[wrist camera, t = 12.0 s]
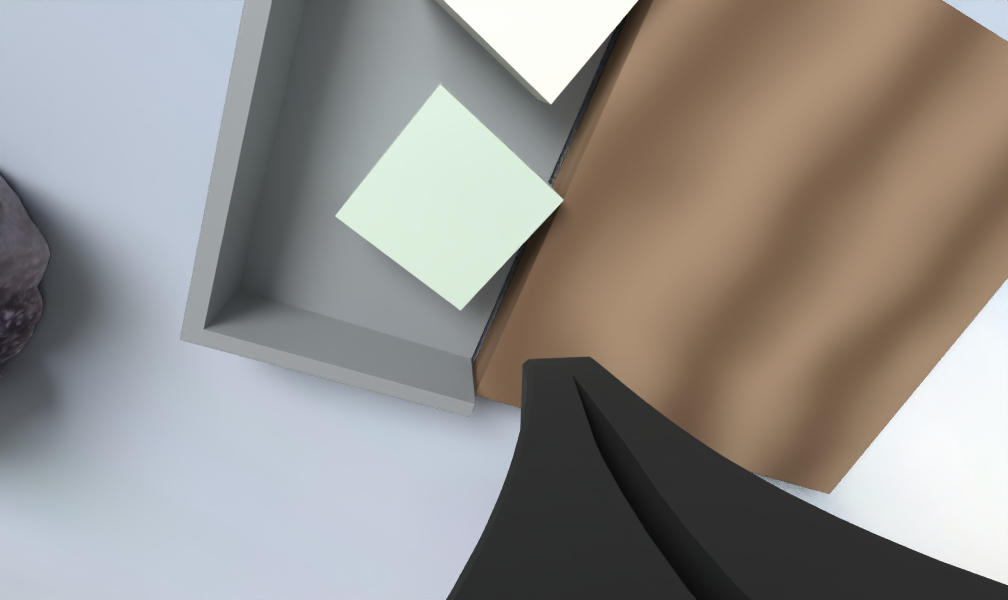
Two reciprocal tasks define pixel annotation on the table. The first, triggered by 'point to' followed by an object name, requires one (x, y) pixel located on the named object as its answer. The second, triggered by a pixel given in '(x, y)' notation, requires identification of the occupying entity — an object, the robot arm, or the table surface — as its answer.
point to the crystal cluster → (18, 274)
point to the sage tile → (449, 199)
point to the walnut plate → (772, 222)
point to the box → (347, 193)
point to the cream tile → (539, 36)
